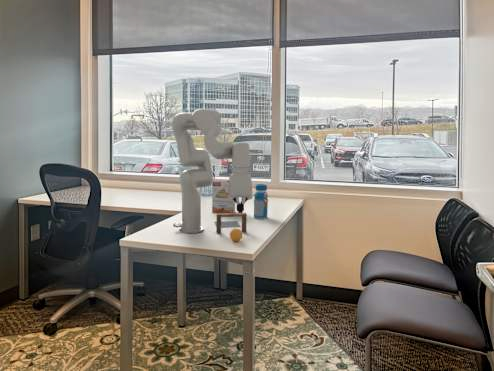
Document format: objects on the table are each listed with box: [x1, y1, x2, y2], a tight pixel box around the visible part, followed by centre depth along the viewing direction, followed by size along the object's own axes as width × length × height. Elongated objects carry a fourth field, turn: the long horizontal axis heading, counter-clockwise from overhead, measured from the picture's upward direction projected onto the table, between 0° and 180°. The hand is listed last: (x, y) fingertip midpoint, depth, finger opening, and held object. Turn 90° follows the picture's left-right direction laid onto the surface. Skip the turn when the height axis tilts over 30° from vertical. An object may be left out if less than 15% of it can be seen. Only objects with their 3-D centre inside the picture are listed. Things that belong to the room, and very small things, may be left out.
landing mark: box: [214, 220, 242, 229], centre depth 215 cm, size 13×13×1 cm
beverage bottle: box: [253, 183, 269, 220], centre depth 231 cm, size 8×8×20 cm
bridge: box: [215, 212, 248, 234], centre depth 197 cm, size 15×3×10 cm, turn 100°
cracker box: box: [211, 178, 236, 214], centre depth 245 cm, size 14×6×21 cm, turn 80°
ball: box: [229, 228, 243, 242], centre depth 182 cm, size 6×6×6 cm
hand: (240, 212), depth 171 cm, fingers closed
